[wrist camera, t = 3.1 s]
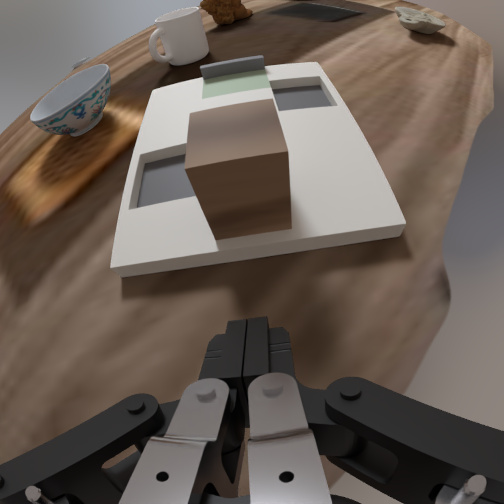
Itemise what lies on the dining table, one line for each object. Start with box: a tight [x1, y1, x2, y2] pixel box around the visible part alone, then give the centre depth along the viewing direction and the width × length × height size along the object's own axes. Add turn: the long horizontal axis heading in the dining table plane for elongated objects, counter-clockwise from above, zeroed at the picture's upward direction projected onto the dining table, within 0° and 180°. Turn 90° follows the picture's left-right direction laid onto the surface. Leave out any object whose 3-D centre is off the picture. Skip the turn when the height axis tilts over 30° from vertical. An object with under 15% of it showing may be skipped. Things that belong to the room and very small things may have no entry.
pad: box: [202, 69, 271, 99], centre depth 37 cm, size 7×9×2 cm
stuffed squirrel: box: [200, 0, 252, 25], centre depth 54 cm, size 10×14×13 cm
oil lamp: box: [395, 7, 446, 34], centre depth 48 cm, size 21×14×5 cm
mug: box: [149, 7, 209, 66], centre depth 43 cm, size 12×8×10 cm
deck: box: [110, 55, 406, 278], centre depth 30 cm, size 30×25×4 cm
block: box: [184, 98, 292, 240], centre depth 21 cm, size 6×6×8 cm
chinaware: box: [30, 64, 111, 136], centre depth 38 cm, size 15×15×8 cm
